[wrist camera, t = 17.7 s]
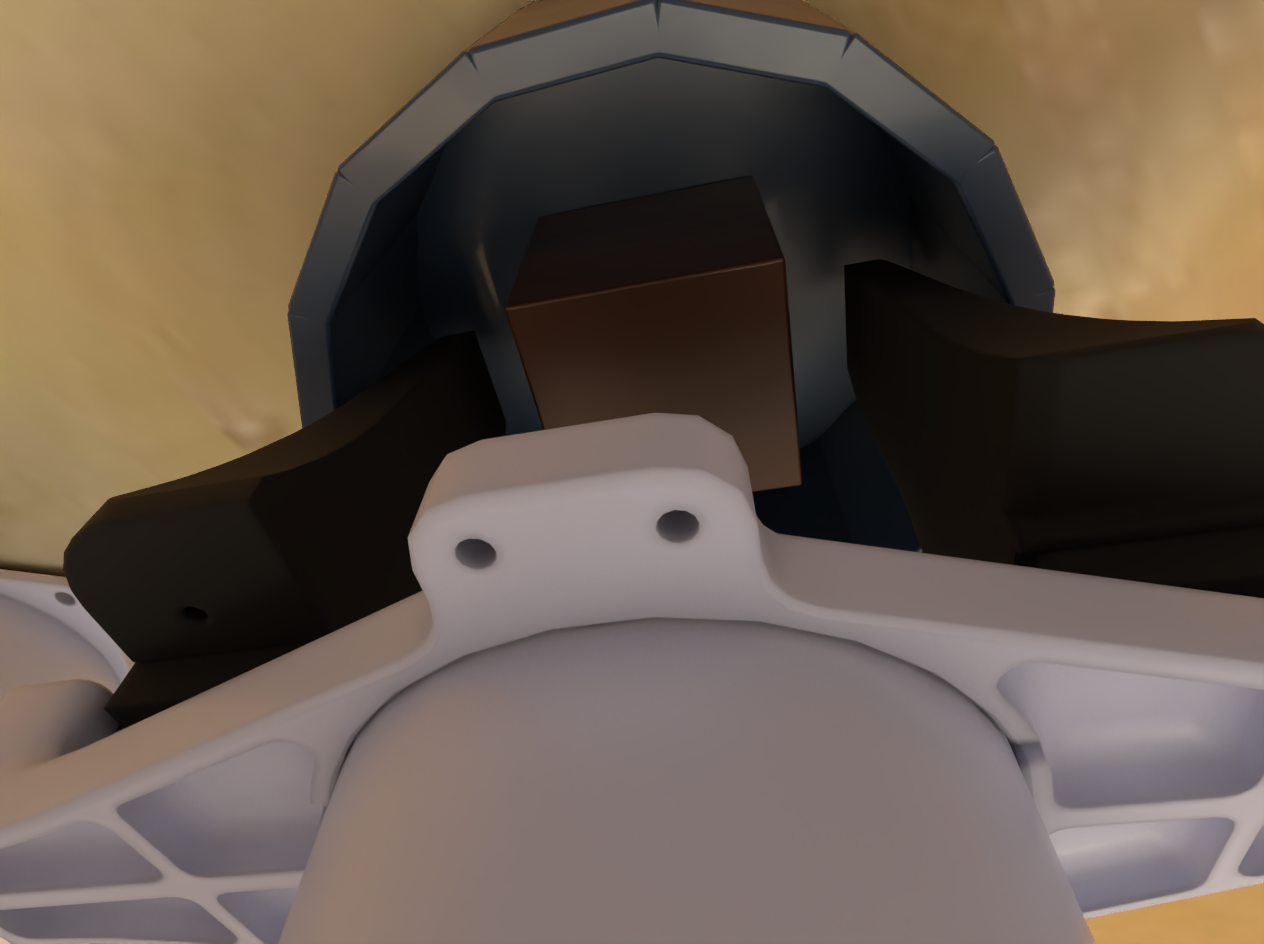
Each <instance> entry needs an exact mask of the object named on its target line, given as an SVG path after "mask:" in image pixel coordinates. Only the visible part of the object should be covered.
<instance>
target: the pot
mask: <svg viewBox="0 0 1264 944" xmlns="http://www.w3.org/2000/svg"><path fill="white" fill-rule="evenodd" d="M994 144H995V143H994V141H993V140H992V139H991V138H990V137H988V136H987V135H986V134H985V133H983V132H982V131H981V130H979V129H978V128H977V127H976V126H974V125H973V124H972V123H971V122H969V121H968V120H967V119H965V118H964V117H963V116H962V115H960V114H959V113H958V112H957V111H955V110H954V109H953V108H951V107H950V106H949V105H948V104H946V103H945V102H944V101H942V100H941V99H940V98H939V97H937V96H936V95H935V94H934V93H932V92H931V91H930V90H928V89H927V88H926V87H925V86H923V85H922V84H921V83H920V82H918V81H917V80H916V79H914V78H913V77H912V76H911V75H909V74H908V73H907V72H906V71H904V70H903V69H902V68H900V67H899V66H898V65H897V64H895V63H894V62H893V61H892V60H890V59H889V58H888V57H886V56H885V55H884V54H883V53H881V52H880V51H879V50H878V49H876V48H875V47H874V46H872V45H871V44H870V43H869V42H867V41H866V40H865V39H864V38H862V37H861V36H860V35H858V34H857V33H855V32H854V31H852V30H850V29H849V28H847V27H845V26H844V25H842V24H840V23H839V22H837V21H835V20H833V19H832V18H830V17H828V16H827V15H825V14H823V13H822V12H820V11H818V10H817V9H815V8H813V7H812V6H810V5H808V4H807V3H805V2H803V1H802V0H543V1H539V2H536V3H532V4H529V5H527V6H526V7H523V8H521V9H520V10H519V11H517V12H516V13H514V14H513V15H512V16H510V17H509V18H508V19H506V20H505V21H504V22H502V23H501V24H500V25H498V26H497V27H496V28H494V29H493V30H491V31H490V32H489V33H487V34H486V35H485V36H483V37H482V38H481V39H479V40H478V41H477V42H475V43H474V44H473V45H471V46H470V47H468V48H467V49H466V50H464V51H463V52H462V53H461V54H460V55H459V56H458V57H456V58H455V59H454V60H453V61H452V62H451V63H450V64H449V65H448V66H447V67H446V68H445V69H443V70H442V71H441V72H440V73H439V74H438V75H437V76H436V77H435V78H434V79H433V80H432V81H430V82H429V83H428V84H427V85H426V86H425V87H424V88H423V89H422V90H421V91H420V92H419V93H417V94H416V95H415V96H414V97H413V98H412V99H411V100H410V101H409V102H408V103H407V104H406V105H404V106H403V107H402V108H401V109H400V110H399V111H398V112H397V113H396V114H395V115H394V116H393V117H391V118H390V119H389V120H388V121H387V122H386V123H385V124H384V125H383V126H382V127H381V128H380V129H378V130H377V131H376V132H375V133H374V134H373V135H372V136H371V137H370V138H369V139H368V140H367V141H365V142H364V143H363V144H362V145H361V146H360V147H359V148H358V149H357V150H356V151H355V152H354V153H352V154H351V155H350V156H349V157H348V158H347V159H346V160H345V161H344V162H343V163H342V164H341V165H339V167H338V171H337V172H336V173H335V175H334V177H333V180H332V183H331V186H330V189H329V191H328V194H327V197H326V200H325V203H324V206H323V208H322V211H321V214H320V217H319V220H318V223H317V225H316V228H315V231H314V234H313V237H312V239H311V242H310V245H309V248H308V251H307V254H306V256H305V259H304V262H303V265H302V268H301V271H300V273H299V276H298V279H297V282H296V285H295V287H294V290H293V293H292V296H291V299H290V302H289V304H288V309H289V311H288V322H289V330H290V338H291V345H292V353H293V360H294V368H295V376H296V383H297V391H298V399H299V406H300V414H301V422H302V429H303V428H304V427H306V426H308V425H310V424H312V423H314V422H315V421H317V420H319V419H321V418H323V417H324V416H326V415H328V414H329V413H331V412H333V411H334V410H336V409H337V408H339V407H341V406H342V405H344V404H345V403H347V402H348V401H349V400H351V399H352V398H354V397H355V396H357V395H358V394H360V393H361V392H363V391H364V390H365V389H367V388H368V387H370V386H371V385H373V384H374V383H376V382H377V381H378V380H380V379H381V378H383V377H384V376H385V375H387V374H388V373H389V372H391V371H392V370H393V369H395V368H396V367H397V366H399V365H400V364H401V363H403V362H404V361H405V360H407V359H408V358H410V357H411V356H412V355H414V354H415V353H416V352H418V351H419V350H421V349H422V348H423V347H425V346H426V345H428V344H430V343H431V342H433V341H435V340H436V339H438V338H441V337H443V336H447V335H453V334H458V333H464V332H470V331H475V334H476V337H477V340H478V343H479V346H480V348H481V351H482V354H483V357H484V360H485V363H486V365H487V368H488V371H489V374H490V377H491V380H492V382H493V385H494V388H495V391H496V394H497V397H498V399H499V402H500V405H501V408H502V411H503V414H504V417H505V419H506V432H505V436H509V435H515V434H522V433H528V432H535V431H541V430H543V428H542V425H541V422H540V418H539V415H538V412H537V409H536V406H535V403H534V400H533V397H532V393H531V390H530V387H529V384H528V381H527V378H526V375H525V372H524V368H523V365H522V362H521V359H520V356H519V353H518V350H517V347H516V343H515V340H514V337H513V334H512V331H511V328H510V325H509V322H508V318H507V315H506V312H505V306H506V303H507V301H508V298H509V295H510V293H511V290H512V287H513V285H514V282H515V279H516V276H517V274H518V271H519V268H520V266H521V263H522V260H523V258H524V255H525V252H526V250H527V247H528V244H529V241H530V239H531V236H532V233H533V231H534V228H535V225H536V223H537V220H538V218H540V217H543V216H548V215H553V214H558V213H564V212H569V211H574V210H579V209H584V208H589V207H594V206H600V205H605V204H610V203H615V202H620V201H625V200H630V199H635V198H641V197H646V196H651V195H656V194H661V193H666V192H671V191H676V190H682V189H687V188H692V187H697V186H702V185H707V184H712V183H718V182H723V181H728V180H733V179H738V178H743V177H748V176H752V177H753V178H754V180H755V182H756V185H757V188H758V190H759V193H760V195H761V198H762V201H763V203H764V206H765V209H766V211H767V214H768V216H769V219H770V222H771V224H772V227H773V229H774V232H775V235H776V237H777V240H778V242H779V245H780V248H781V250H782V253H783V256H784V258H785V264H786V277H787V290H788V302H789V315H790V328H791V341H792V354H793V366H794V379H795V392H796V405H797V417H798V430H799V443H800V456H801V469H802V484H801V485H799V486H792V487H785V488H777V489H770V490H763V491H756V492H752V494H753V500H754V506H755V511H756V515H757V517H758V518H759V520H760V521H761V523H762V524H763V525H764V526H766V527H767V528H769V529H770V530H772V531H774V532H775V533H778V534H784V535H791V536H799V537H806V538H814V539H821V540H829V541H836V542H844V543H851V544H859V545H866V546H874V547H882V548H889V549H897V550H904V551H912V552H919V553H922V550H921V547H920V544H919V541H918V538H917V535H916V532H915V529H914V526H913V523H912V520H911V518H910V515H909V512H908V509H907V507H906V504H905V502H904V500H903V497H902V495H901V493H900V490H899V488H898V486H897V484H896V482H895V480H894V478H893V476H892V474H891V472H890V470H889V468H888V466H887V464H886V462H885V460H884V458H883V456H882V454H881V452H880V450H879V448H878V446H877V444H876V442H875V440H874V438H873V436H872V434H871V432H870V430H869V428H868V426H867V424H866V422H865V420H864V417H863V415H862V413H861V411H860V409H859V406H858V403H857V400H856V396H855V393H854V390H853V387H852V383H851V380H850V376H849V373H848V369H847V350H846V317H845V284H844V265H849V264H855V263H860V262H866V261H872V260H877V259H882V260H886V261H890V262H893V263H895V264H898V265H901V266H903V267H906V268H908V269H910V270H913V271H915V272H918V273H920V274H922V275H925V276H927V277H930V278H932V279H935V280H937V281H940V282H942V283H945V284H947V285H950V286H953V287H956V288H958V289H961V290H964V291H967V292H970V293H973V294H976V295H979V296H982V297H986V298H989V299H992V300H995V301H999V302H1003V303H1007V304H1011V305H1015V306H1020V307H1025V308H1029V309H1034V310H1039V311H1044V312H1050V313H1053V307H1054V297H1055V289H1054V287H1053V286H1054V280H1053V278H1052V276H1051V273H1050V271H1049V268H1048V266H1047V264H1046V261H1045V259H1044V257H1043V254H1042V252H1041V249H1040V247H1039V245H1038V242H1037V240H1036V237H1035V235H1034V233H1033V230H1032V228H1031V225H1030V223H1029V221H1028V218H1027V216H1026V214H1025V211H1024V209H1023V206H1022V204H1021V202H1020V199H1019V197H1018V194H1017V192H1016V190H1015V187H1014V185H1013V182H1012V180H1011V178H1010V175H1009V173H1008V171H1007V168H1006V166H1005V163H1004V161H1003V159H1002V156H1001V154H1000V151H999V149H998V147H996V146H995V145H994Z"/></svg>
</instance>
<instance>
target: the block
mask: <svg viewBox="0 0 1264 944" xmlns="http://www.w3.org/2000/svg"><path fill="white" fill-rule="evenodd" d="M505 312H506V315H507V318H508V322H509V325H510V328H511V331H512V334H513V337H514V340H515V343H516V347H517V350H518V353H519V356H520V359H521V362H522V365H523V368H524V372H525V375H526V378H527V381H528V384H529V387H530V390H531V393H532V397H533V400H534V403H535V406H536V409H537V412H538V415H539V418H540V422H541V425H542V428H543V430H547V429H554V428H560V427H566V426H573V425H579V424H586V423H592V422H598V421H605V420H611V419H618V418H624V417H630V416H637V415H643V414H650V413H669V414H684V415H699V416H700V417H702V418H704V419H705V420H707V421H709V422H710V423H712V424H714V425H715V426H717V427H719V428H720V429H722V430H724V431H725V432H727V433H729V434H730V435H732V436H733V438H734V440H735V442H736V444H737V446H738V448H739V450H740V452H741V454H742V456H743V458H744V460H745V462H746V464H747V466H748V471H749V477H750V483H751V488H752V492H756V491H763V490H770V489H777V488H785V487H792V486H799V485H801V484H802V469H801V456H800V443H799V430H798V417H797V405H796V392H795V379H794V366H793V354H792V341H791V328H790V315H789V302H788V290H787V277H786V264H785V258H784V256H783V253H782V250H781V248H780V245H779V242H778V240H777V237H776V235H775V232H774V229H773V227H772V224H771V222H770V219H769V216H768V214H767V211H766V209H765V206H764V203H763V201H762V198H761V195H760V193H759V190H758V188H757V185H756V182H755V180H754V178H753V177H752V176H748V177H743V178H738V179H733V180H728V181H723V182H718V183H712V184H707V185H702V186H697V187H692V188H687V189H682V190H676V191H671V192H666V193H661V194H656V195H651V196H646V197H641V198H635V199H630V200H625V201H620V202H615V203H610V204H605V205H600V206H594V207H589V208H584V209H579V210H574V211H569V212H564V213H558V214H553V215H548V216H543V217H540V218H538V220H537V223H536V225H535V228H534V231H533V233H532V236H531V239H530V241H529V244H528V247H527V250H526V252H525V255H524V258H523V260H522V263H521V266H520V268H519V271H518V274H517V276H516V279H515V282H514V285H513V287H512V290H511V293H510V295H509V298H508V301H507V303H506V306H505Z"/></svg>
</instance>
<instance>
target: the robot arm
mask: <svg viewBox="0 0 1264 944" xmlns="http://www.w3.org/2000/svg"><path fill="white" fill-rule="evenodd" d="M844 284H845V317H846V350H847V369H848V373H849V376H850V380H851V383H852V387H853V390H854V393H855V396H856V400H857V403H858V406H859V409H860V411H861V413H862V415H863V417H864V420H865V422H866V424H867V426H868V428H869V430H870V432H871V434H872V436H873V438H874V440H875V442H876V444H877V446H878V448H879V450H880V452H881V454H882V456H883V458H884V460H885V462H886V464H887V466H888V468H889V470H890V472H891V474H892V476H893V478H894V480H895V482H896V484H897V486H898V488H899V490H900V493H901V495H902V497H903V500H904V502H905V504H906V507H907V509H908V512H909V515H910V518H911V520H912V523H913V526H914V529H915V532H916V535H917V538H918V541H919V544H920V547H921V550H922V553H919V552H912V551H904V550H897V549H889V548H882V547H874V546H866V545H859V544H851V543H844V542H836V541H829V540H821V539H814V538H806V537H799V536H791V535H784V534H778V533H775V532H774V531H772V530H770V529H769V528H767V527H766V526H764V525H763V524H762V523H761V521H760V520H759V518H758V517H757V515H756V511H755V506H754V500H753V494H752V488H751V483H750V477H749V471H748V466H747V464H746V462H745V460H744V458H743V456H742V454H741V452H740V450H739V448H738V446H737V444H736V442H735V440H734V438H733V436H732V435H730V434H729V433H727V432H725V431H724V430H722V429H720V428H719V427H717V426H715V425H714V424H712V423H710V422H709V421H707V420H705V419H704V418H702V417H700V416H699V415H684V414H669V413H650V414H643V415H637V416H630V417H624V418H618V419H611V420H605V421H598V422H592V423H586V424H579V425H573V426H566V427H560V428H554V429H547V430H541V431H535V432H528V433H522V434H515V435H509V436H505V432H506V419H505V417H504V414H503V411H502V408H501V405H500V402H499V399H498V397H497V394H496V391H495V388H494V385H493V382H492V380H491V377H490V374H489V371H488V368H487V365H486V363H485V360H484V357H483V354H482V351H481V348H480V346H479V343H478V340H477V337H476V334H475V331H470V332H464V333H458V334H453V335H447V336H443V337H441V338H438V339H436V340H435V341H433V342H431V343H430V344H428V345H426V346H425V347H423V348H422V349H421V350H419V351H418V352H416V353H415V354H414V355H412V356H411V357H410V358H408V359H407V360H405V361H404V362H403V363H401V364H400V365H399V366H397V367H396V368H395V369H393V370H392V371H391V372H389V373H388V374H387V375H385V376H384V377H383V378H381V379H380V380H378V381H377V382H376V383H374V384H373V385H371V386H370V387H368V388H367V389H365V390H364V391H363V392H361V393H360V394H358V395H357V396H355V397H354V398H352V399H351V400H349V401H348V402H347V403H345V404H344V405H342V406H341V407H339V408H337V409H336V410H334V411H333V412H331V413H329V414H328V415H326V416H324V417H323V418H321V419H319V420H317V421H315V422H314V423H312V424H310V425H308V426H306V427H304V428H303V429H301V430H299V431H297V432H295V433H293V434H291V435H289V436H287V437H285V438H282V439H280V440H278V441H276V442H274V443H271V444H269V445H267V446H265V447H263V448H261V449H258V450H256V451H254V452H252V453H250V454H247V455H245V456H242V457H240V458H237V459H235V460H232V461H229V462H227V463H224V464H222V465H219V466H216V467H213V468H210V469H207V470H205V471H202V472H199V473H196V474H193V475H190V476H187V477H184V478H180V479H177V480H174V481H170V482H167V483H163V484H159V485H156V486H152V487H149V488H145V489H141V490H138V491H134V492H131V493H127V494H123V495H119V496H115V497H112V498H110V499H108V500H107V501H106V502H105V503H104V504H103V505H102V506H101V508H100V509H99V510H98V511H97V512H96V513H95V514H94V515H93V516H92V517H91V518H90V519H89V520H88V522H87V523H86V524H85V525H84V526H83V527H82V528H81V529H80V530H79V531H78V532H77V533H76V535H75V536H74V537H73V538H72V539H71V541H70V543H69V545H68V546H67V548H66V550H65V552H64V564H63V570H64V573H65V576H66V577H62V576H54V575H45V574H37V573H29V572H20V571H12V570H4V569H0V937H2V938H3V939H5V940H6V941H8V942H10V943H11V944H1096V943H1095V941H1094V939H1093V936H1092V934H1091V932H1090V929H1089V927H1088V925H1087V922H1086V920H1085V919H1089V918H1094V917H1099V916H1104V915H1109V914H1114V913H1119V912H1124V911H1128V910H1133V909H1138V908H1143V907H1148V906H1153V905H1158V904H1163V903H1168V902H1173V901H1178V900H1183V899H1188V898H1193V897H1198V896H1203V895H1208V894H1213V893H1218V892H1223V891H1227V890H1232V889H1237V888H1242V887H1247V886H1252V885H1257V884H1262V883H1264V324H1263V323H1261V322H1260V321H1258V320H1257V319H1255V318H1248V319H1225V320H1202V321H1177V322H1167V321H1127V320H1112V319H1098V318H1089V317H1080V316H1072V315H1063V314H1057V313H1050V312H1044V311H1039V310H1034V309H1029V308H1025V307H1020V306H1015V305H1011V304H1007V303H1003V302H999V301H995V300H992V299H989V298H986V297H982V296H979V295H976V294H973V293H970V292H967V291H964V290H961V289H958V288H956V287H953V286H950V285H947V284H945V283H942V282H940V281H937V280H935V279H932V278H930V277H927V276H925V275H922V274H920V273H918V272H915V271H913V270H910V269H908V268H906V267H903V266H901V265H898V264H895V263H893V262H890V261H886V260H882V259H877V260H872V261H866V262H860V263H855V264H849V265H844Z"/></svg>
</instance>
